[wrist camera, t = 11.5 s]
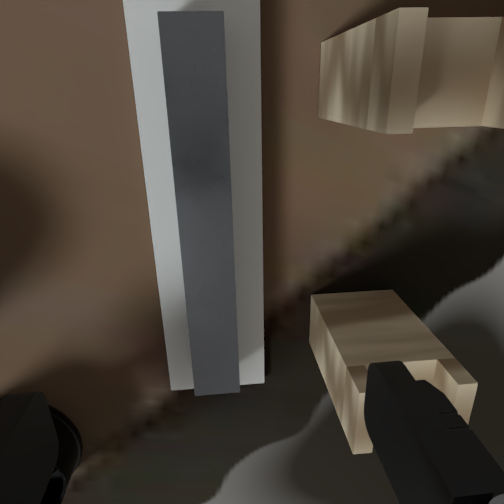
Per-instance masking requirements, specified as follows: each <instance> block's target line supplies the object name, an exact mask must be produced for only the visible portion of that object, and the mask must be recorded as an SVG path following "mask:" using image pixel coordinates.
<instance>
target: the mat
mask: <svg viewBox="0 0 504 504" xmlns="http://www.w3.org/2000/svg"><path fill="white" fill-rule="evenodd" d="M123 5H124V13H125V21H126V29H127V37H128V45H129V53H130V61H131V69H132V78H133V86H134V94H135V102H136V110H137V118H138V126H139V134H140V142H141V150H142V158H143V166H144V175H145V183H146V191H147V199H148V207H149V215H150V223H151V231H152V239H153V247H154V255H155V263H156V271H157V280H158V288H159V296H160V304H161V312H162V320H163V328H164V336H165V344H166V352H167V360H168V368H169V377H170V385H171V391H172V390H184V389H194V382H193V372H192V361H191V351H190V341H189V331H188V321H187V311H186V300H185V290H184V280H183V270H182V260H181V249H180V239H179V229H178V219H177V209H176V198H175V188H174V178H173V168H172V158H171V147H170V137H169V127H168V117H167V107H166V97H165V86H164V76H163V66H162V56H161V46H160V35H159V25H158V15H157V11H224V28H225V51H226V74H227V98H228V121H229V144H230V167H231V191H232V214H233V237H234V260H235V284H236V307H237V330H238V353H239V377H240V385H245V384H257V383H264V303H263V215H262V127H261V39H260V0H123Z"/></svg>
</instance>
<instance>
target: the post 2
mask: <svg viewBox="0 0 504 504" xmlns="http://www.w3.org/2000/svg"><path fill="white" fill-rule="evenodd" d="M309 342H310V345H311V348H312V350H313V353H314V355H315V358H316V360H317V363H318V365H319V368H320V371H321V373H322V376H323V378H324V381H325V383H326V386H327V388H328V391H329V394H330V396H331V398H332V401H333V404H334V406H335V409H336V411H337V414H338V417H339V419H340V422H341V424H342V427H343V429H344V432H345V435H346V437H347V440H348V442H349V445H350V447H351V450H352V453H353V454H361V453H371V452H372V447H373V444H372V442H371V439H370V437H369V435H368V432H367V429H366V425H365V420H364V401H365V391H366V381H367V372H368V366H369V364H370V363H376V362H387V361H398V360H399V361H402V362H403V363H404V365H405V366H406V367H407V369H408V370H409V372H410V373H411V375H412V376H413V377H414V379H415V380H426V381H428V382H429V383H430V384H432V385H433V386H435V387H436V388H437V389H439V390H440V391H441V392H443V393H444V394H445V395H446V397H447V398H448V399H449V400H450V402H451V403H452V404H453V406H454V407H455V408H456V410H457V411H458V415H461V416H462V418H463V419H464V420H465V422H466V423H467V424H468V422H469V418H470V414H471V410H472V406H473V401H474V398H475V394H476V389H477V385H478V383H477V382H476V380H475V379H474V378H473V377H471V375H470V374H469V373H468V372H467V371H466V370H465V368H464V367H463V366H462V365H461V364H460V363H459V362H458V361H457V360H456V359H455V357H454V356H453V355H452V354H451V353H450V352H449V351H448V350H447V349H446V348H445V347H444V345H443V344H442V343H441V342H440V341H439V340H438V339H437V338H436V337H435V336H434V335H433V333H432V332H431V331H430V330H429V329H428V328H427V327H426V326H425V325H424V324H423V322H422V321H421V320H420V319H419V318H418V317H417V316H416V315H415V314H414V313H413V311H412V310H411V309H410V308H409V307H408V306H407V305H406V304H405V303H404V302H403V301H402V299H401V298H400V297H399V296H398V295H397V294H396V293H395V292H394V291H393V290H377V291H361V292H346V293H330V294H315V295H311V311H310V336H309Z"/></svg>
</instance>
